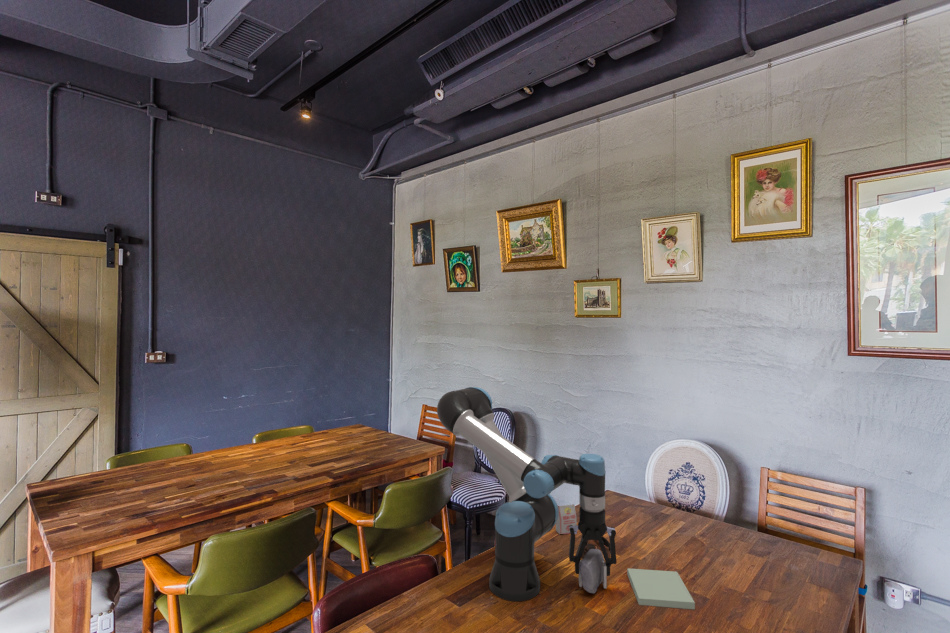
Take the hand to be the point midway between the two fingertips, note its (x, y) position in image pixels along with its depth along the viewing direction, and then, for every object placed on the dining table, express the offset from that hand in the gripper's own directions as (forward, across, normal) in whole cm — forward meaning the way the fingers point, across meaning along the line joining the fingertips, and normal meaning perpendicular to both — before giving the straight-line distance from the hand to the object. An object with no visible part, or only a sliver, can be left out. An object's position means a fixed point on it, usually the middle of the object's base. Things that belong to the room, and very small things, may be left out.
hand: (592, 584), depth 139 cm
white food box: (+1, -5, +37) cm, 37 cm away
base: (+1, +19, +1) cm, 19 cm away
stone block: (+1, 0, 0) cm, 1 cm away
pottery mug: (+2, +1, +18) cm, 18 cm away
